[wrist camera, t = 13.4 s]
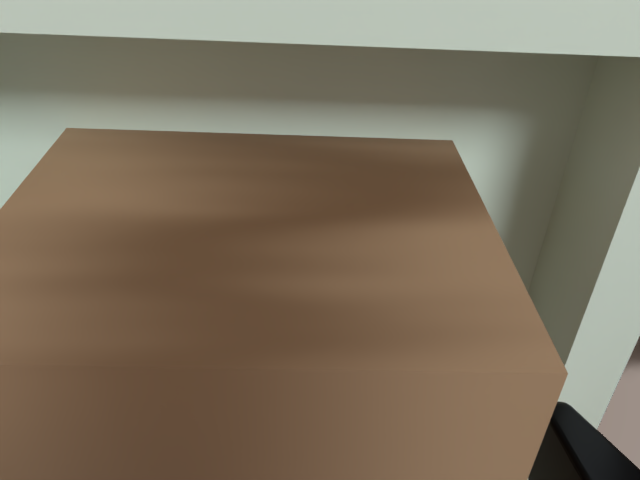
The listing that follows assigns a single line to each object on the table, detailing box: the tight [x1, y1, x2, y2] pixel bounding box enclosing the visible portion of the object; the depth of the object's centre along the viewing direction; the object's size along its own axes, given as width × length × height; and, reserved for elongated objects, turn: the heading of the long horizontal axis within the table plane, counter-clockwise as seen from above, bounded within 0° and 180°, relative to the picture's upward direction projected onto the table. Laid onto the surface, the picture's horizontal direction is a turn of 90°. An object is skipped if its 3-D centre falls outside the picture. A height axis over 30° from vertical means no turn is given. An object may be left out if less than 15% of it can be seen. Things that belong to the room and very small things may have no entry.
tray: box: [0, 0, 640, 480], centre depth 11 cm, size 12×12×2 cm
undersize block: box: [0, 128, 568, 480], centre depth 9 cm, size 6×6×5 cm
